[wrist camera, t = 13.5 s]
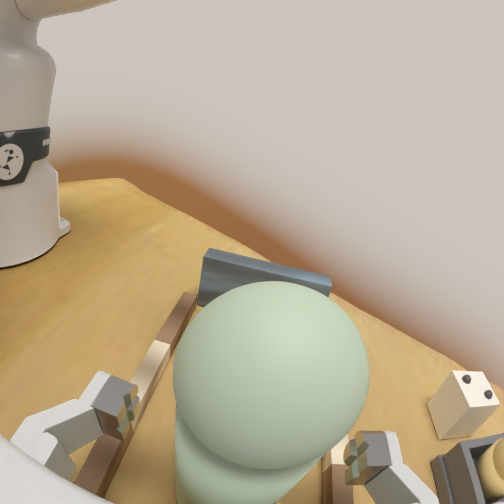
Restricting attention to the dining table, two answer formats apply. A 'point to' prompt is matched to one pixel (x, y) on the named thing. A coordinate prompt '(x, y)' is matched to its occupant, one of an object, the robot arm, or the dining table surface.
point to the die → (462, 404)
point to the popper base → (461, 472)
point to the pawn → (263, 392)
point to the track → (153, 364)
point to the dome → (492, 471)
